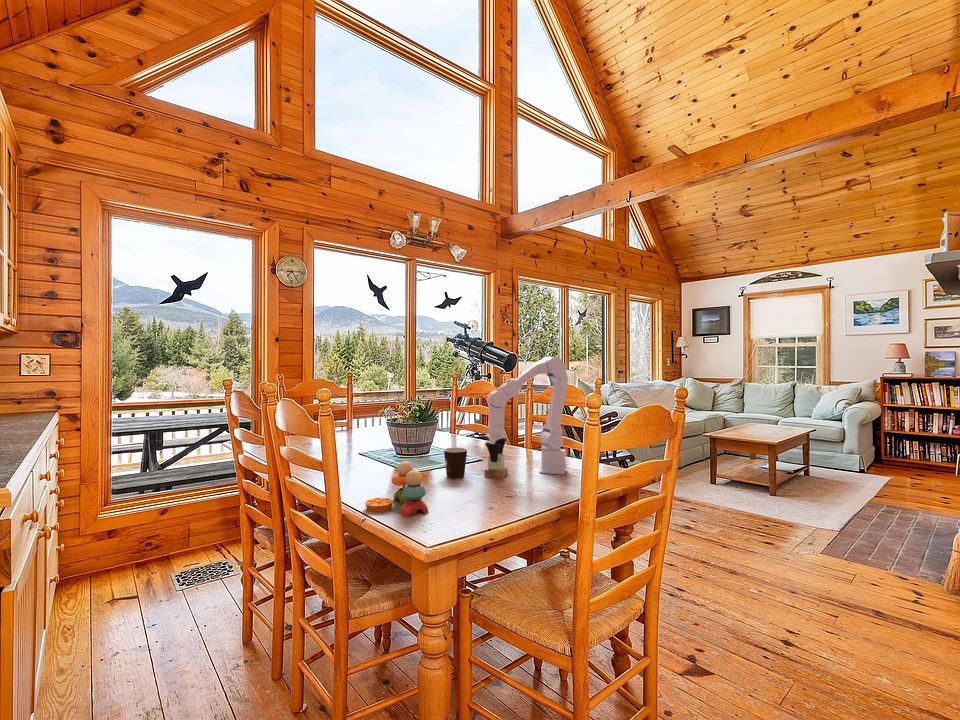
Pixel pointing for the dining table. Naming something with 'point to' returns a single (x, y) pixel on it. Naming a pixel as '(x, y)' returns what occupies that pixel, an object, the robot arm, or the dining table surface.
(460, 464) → the coffee mug
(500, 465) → the green cube
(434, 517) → the dining table surface
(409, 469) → the stacking toy
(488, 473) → the walnut block
